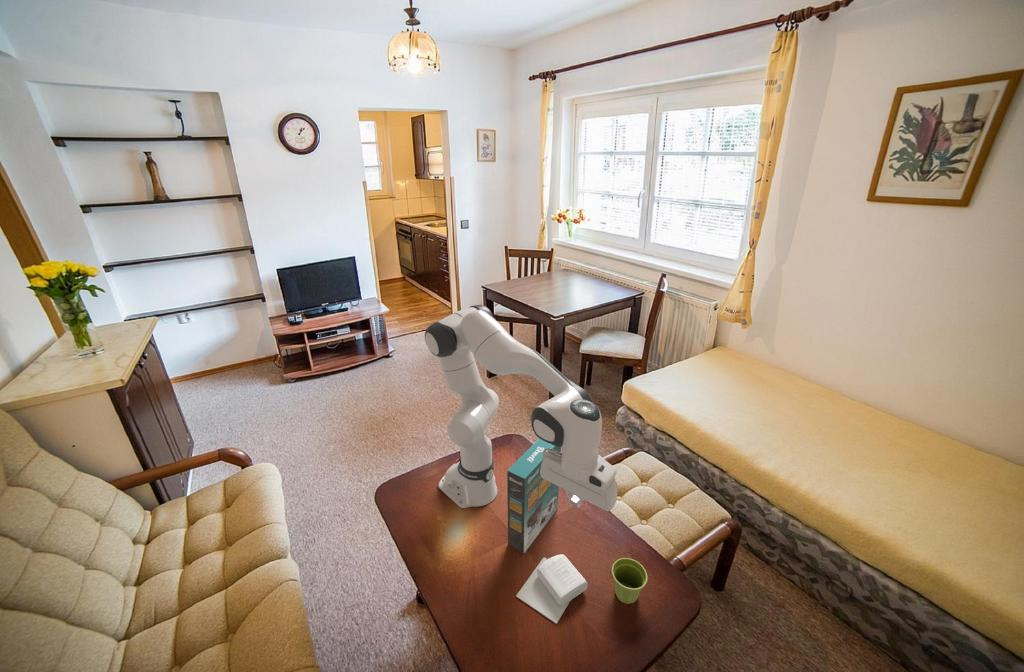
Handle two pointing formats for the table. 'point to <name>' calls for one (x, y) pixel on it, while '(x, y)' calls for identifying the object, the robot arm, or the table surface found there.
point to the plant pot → (628, 579)
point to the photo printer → (561, 579)
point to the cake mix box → (529, 497)
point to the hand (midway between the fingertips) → (574, 504)
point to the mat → (540, 597)
